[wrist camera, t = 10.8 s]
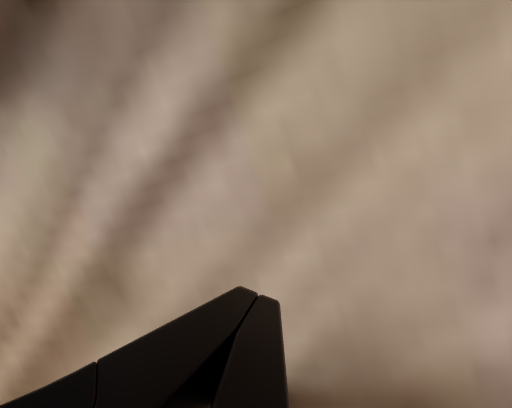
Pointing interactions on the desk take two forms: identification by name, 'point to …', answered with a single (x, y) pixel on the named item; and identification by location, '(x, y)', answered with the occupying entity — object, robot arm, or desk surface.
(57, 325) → the desk surface
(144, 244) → the desk surface
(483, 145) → the desk surface
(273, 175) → the desk surface
